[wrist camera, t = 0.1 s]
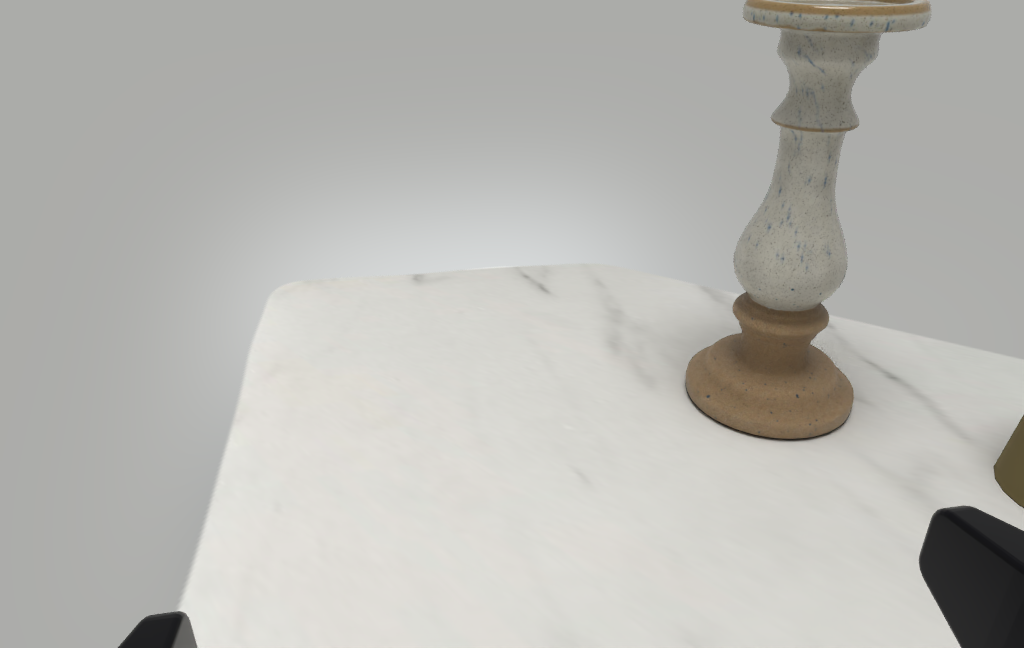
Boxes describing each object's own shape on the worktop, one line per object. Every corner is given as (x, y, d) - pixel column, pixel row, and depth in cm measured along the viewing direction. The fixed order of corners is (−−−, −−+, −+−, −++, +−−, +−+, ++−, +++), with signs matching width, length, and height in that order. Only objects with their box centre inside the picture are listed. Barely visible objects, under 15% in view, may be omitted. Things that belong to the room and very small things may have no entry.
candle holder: (690, 434, 40) (744, 7, 30) (680, 349, 47) (721, -12, 38) (869, 448, 38) (985, 10, 29) (830, 359, 46) (911, -11, 37)
